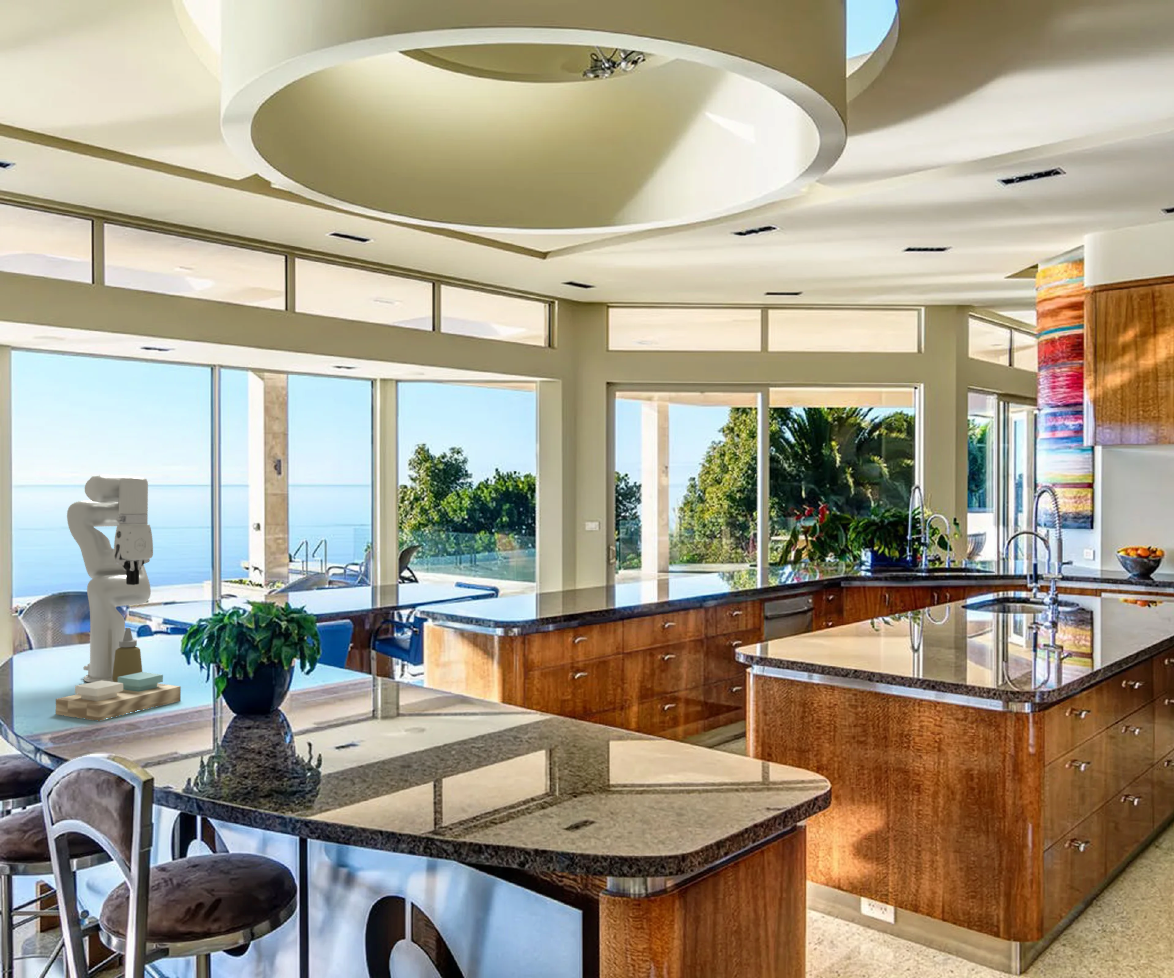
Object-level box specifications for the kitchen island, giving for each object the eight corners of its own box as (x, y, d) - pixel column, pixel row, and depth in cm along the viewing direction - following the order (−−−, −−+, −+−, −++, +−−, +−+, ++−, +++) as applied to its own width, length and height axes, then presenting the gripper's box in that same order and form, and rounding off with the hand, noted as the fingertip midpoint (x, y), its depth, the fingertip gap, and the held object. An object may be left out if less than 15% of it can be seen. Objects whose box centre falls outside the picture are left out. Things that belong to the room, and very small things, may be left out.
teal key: (138, 698, 264) (138, 679, 264) (117, 695, 267) (117, 677, 267) (162, 692, 271) (162, 674, 271) (141, 689, 275) (141, 671, 275)
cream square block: (96, 708, 252) (96, 688, 252) (75, 704, 256) (75, 685, 255) (122, 702, 259) (123, 683, 259) (101, 698, 263) (101, 680, 263)
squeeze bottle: (134, 693, 280) (135, 630, 280) (106, 692, 281) (107, 629, 280) (147, 687, 289) (148, 626, 288) (120, 686, 289) (121, 625, 289)
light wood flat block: (99, 721, 248) (99, 705, 248) (55, 714, 255) (55, 698, 255) (180, 700, 272) (180, 686, 272) (138, 694, 279) (138, 680, 279)
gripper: (120, 521, 272) (119, 587, 272) (163, 519, 286) (163, 582, 286) (101, 520, 275) (100, 586, 276) (145, 519, 289) (144, 581, 289)
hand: (132, 584), depth 281 cm, fingers closed
